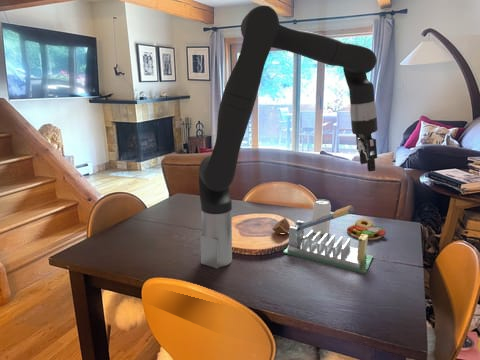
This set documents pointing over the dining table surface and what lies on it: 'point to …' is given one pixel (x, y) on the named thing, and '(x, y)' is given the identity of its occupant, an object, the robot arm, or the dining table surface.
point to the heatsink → (329, 250)
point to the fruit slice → (282, 226)
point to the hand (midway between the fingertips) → (367, 167)
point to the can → (321, 210)
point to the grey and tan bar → (326, 217)
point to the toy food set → (366, 230)
